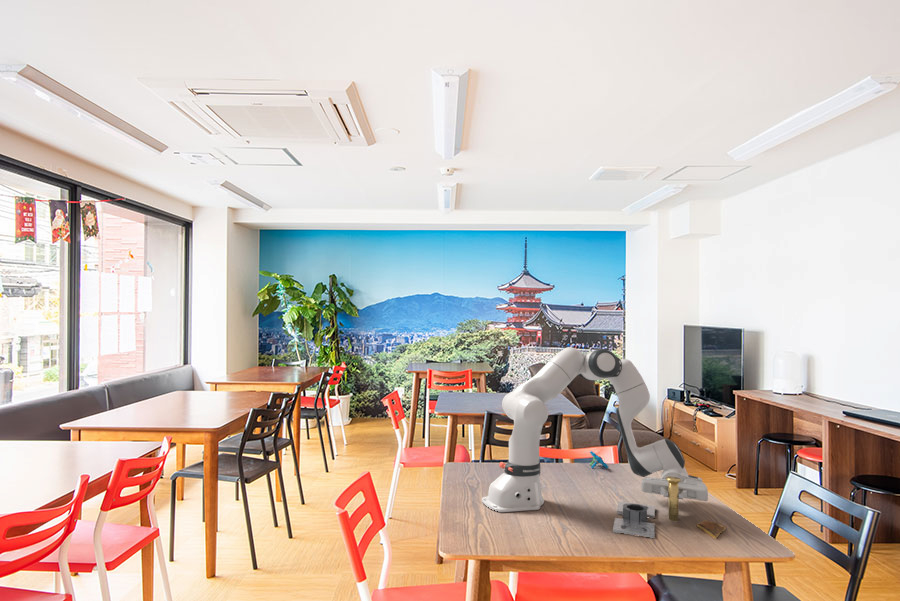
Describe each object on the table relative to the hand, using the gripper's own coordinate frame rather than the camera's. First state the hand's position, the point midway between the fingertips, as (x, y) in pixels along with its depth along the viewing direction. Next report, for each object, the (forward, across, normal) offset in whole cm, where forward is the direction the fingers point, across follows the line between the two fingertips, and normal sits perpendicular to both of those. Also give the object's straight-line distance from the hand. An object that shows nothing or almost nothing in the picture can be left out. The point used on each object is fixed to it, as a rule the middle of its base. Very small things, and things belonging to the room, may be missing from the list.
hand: (673, 495), depth 162 cm
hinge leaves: (0, -12, +10) cm, 15 cm away
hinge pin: (-1, 0, +8) cm, 8 cm away
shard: (-1, +12, +10) cm, 16 cm away
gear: (-58, -32, +10) cm, 67 cm away
